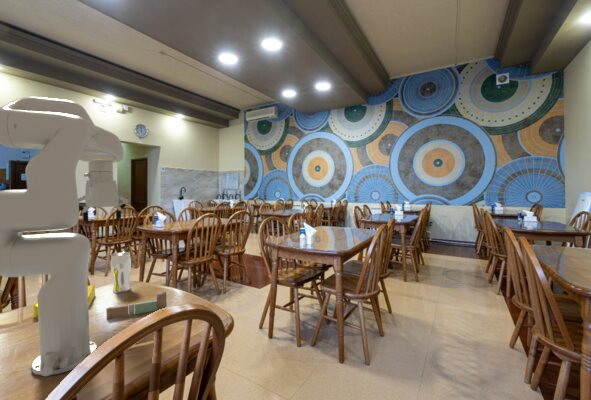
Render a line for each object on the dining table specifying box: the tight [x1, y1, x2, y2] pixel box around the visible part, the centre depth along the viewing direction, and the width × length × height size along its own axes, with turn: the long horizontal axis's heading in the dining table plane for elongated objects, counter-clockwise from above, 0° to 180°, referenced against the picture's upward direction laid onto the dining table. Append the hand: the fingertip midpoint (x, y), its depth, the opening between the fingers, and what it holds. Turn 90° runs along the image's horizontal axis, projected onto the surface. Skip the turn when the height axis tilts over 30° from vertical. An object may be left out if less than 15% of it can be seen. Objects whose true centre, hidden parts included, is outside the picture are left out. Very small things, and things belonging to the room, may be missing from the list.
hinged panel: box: [134, 290, 167, 315], centre depth 95 cm, size 10×3×6 cm, turn 117°
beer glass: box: [110, 251, 132, 294], centre depth 114 cm, size 7×7×15 cm
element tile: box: [33, 284, 96, 319], centre depth 100 cm, size 15×15×5 cm
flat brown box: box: [105, 303, 135, 320], centre depth 96 cm, size 19×19×4 cm
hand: (102, 221), depth 106 cm, fingers open, 9 cm apart
